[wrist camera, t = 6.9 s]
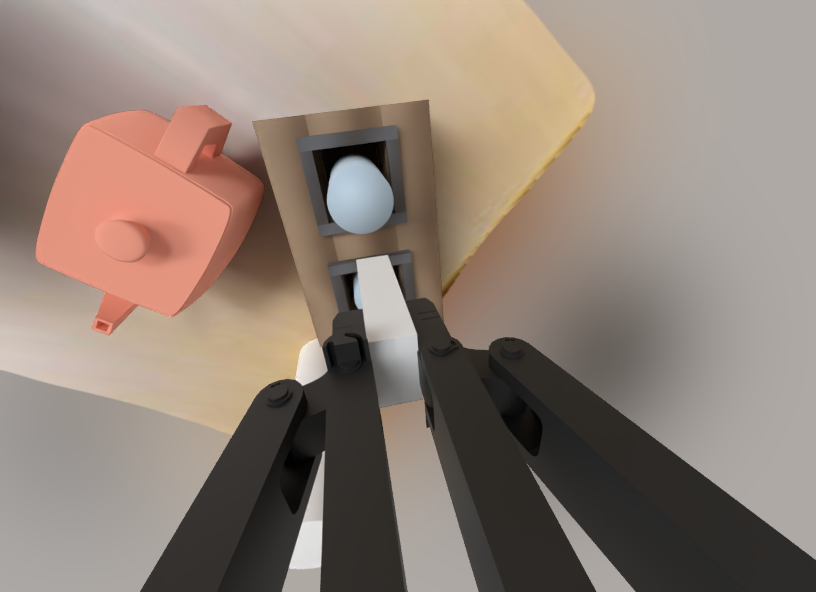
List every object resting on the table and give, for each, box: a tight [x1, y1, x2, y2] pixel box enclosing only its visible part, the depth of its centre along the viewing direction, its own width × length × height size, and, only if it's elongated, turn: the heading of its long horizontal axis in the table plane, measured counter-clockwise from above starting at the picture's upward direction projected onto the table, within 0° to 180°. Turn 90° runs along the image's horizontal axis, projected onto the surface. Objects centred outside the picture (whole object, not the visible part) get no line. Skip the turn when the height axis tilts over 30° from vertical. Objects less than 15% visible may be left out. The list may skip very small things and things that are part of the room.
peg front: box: [327, 154, 394, 234], centre depth 26 cm, size 4×4×9 cm
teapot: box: [35, 105, 264, 335], centre depth 30 cm, size 22×13×14 cm, turn 143°
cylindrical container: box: [289, 338, 328, 569], centre depth 38 cm, size 7×7×25 cm
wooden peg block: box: [252, 100, 444, 347], centre depth 36 cm, size 14×22×11 cm, turn 6°
